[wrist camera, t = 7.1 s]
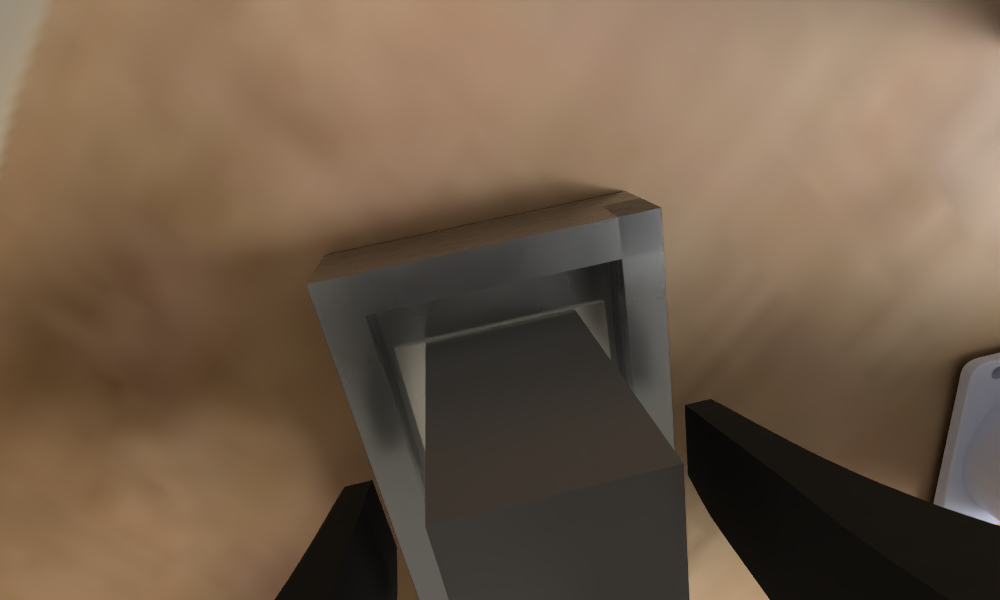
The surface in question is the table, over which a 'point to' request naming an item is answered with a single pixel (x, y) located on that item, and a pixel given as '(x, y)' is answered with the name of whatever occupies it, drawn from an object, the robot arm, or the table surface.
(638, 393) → the rail
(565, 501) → the grey square block
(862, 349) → the table surface
